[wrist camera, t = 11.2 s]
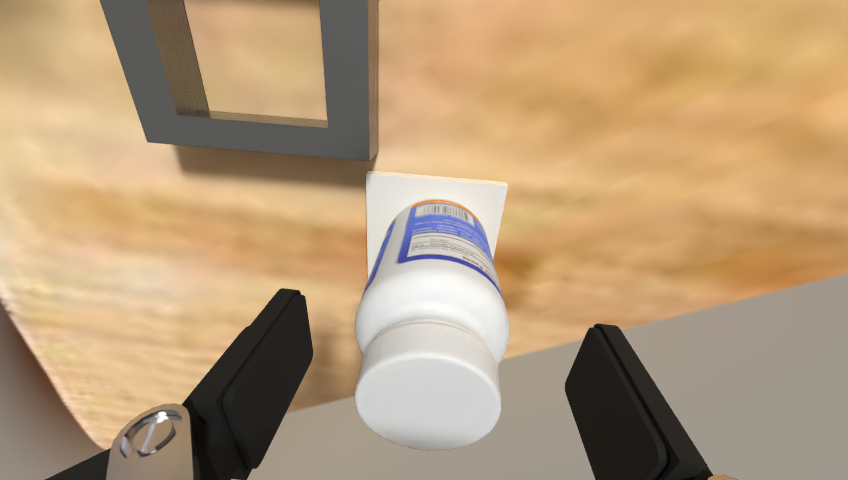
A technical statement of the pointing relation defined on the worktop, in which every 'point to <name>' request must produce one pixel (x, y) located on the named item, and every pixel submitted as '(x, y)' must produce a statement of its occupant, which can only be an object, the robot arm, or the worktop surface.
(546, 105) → the worktop surface
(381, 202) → the tile
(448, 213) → the pill bottle
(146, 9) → the grey double square frame
